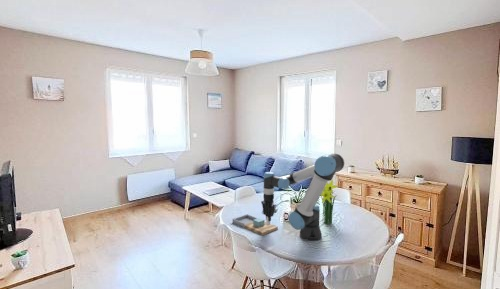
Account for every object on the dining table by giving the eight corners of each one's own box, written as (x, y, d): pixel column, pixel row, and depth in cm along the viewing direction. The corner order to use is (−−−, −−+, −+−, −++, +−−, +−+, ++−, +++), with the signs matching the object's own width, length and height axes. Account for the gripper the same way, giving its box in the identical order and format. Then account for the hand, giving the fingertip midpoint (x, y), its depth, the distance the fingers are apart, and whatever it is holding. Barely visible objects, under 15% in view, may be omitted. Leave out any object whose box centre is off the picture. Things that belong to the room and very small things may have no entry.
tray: (258, 221, 214) (258, 218, 214) (243, 227, 203) (243, 223, 203) (247, 217, 223) (247, 214, 223) (232, 222, 212) (232, 219, 212)
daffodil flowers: (331, 230, 197) (332, 183, 194) (313, 225, 207) (314, 180, 204) (341, 223, 210) (342, 179, 207) (324, 219, 219) (324, 177, 217)
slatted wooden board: (277, 229, 199) (277, 226, 199) (263, 235, 188) (263, 232, 188) (258, 222, 214) (258, 219, 213) (244, 227, 202) (244, 224, 202)
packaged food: (278, 212, 235) (278, 207, 234) (269, 216, 227) (269, 210, 226) (270, 210, 241) (270, 204, 241) (261, 213, 233) (261, 208, 232)
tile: (264, 225, 202) (264, 219, 202) (258, 227, 198) (258, 222, 198) (258, 222, 206) (258, 217, 206) (253, 225, 202) (253, 219, 202)
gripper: (279, 194, 191) (278, 226, 193) (265, 190, 200) (265, 221, 202) (272, 196, 185) (271, 229, 188) (258, 192, 195) (258, 223, 197)
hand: (268, 224), depth 195 cm, fingers closed
